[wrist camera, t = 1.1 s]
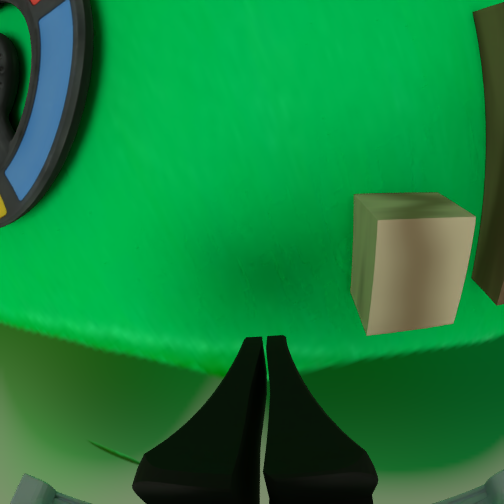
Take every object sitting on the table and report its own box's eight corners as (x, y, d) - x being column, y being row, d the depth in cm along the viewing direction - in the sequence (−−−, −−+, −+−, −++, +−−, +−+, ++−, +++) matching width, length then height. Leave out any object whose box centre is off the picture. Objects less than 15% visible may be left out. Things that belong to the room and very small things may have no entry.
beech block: (436, 191, 19) (476, 216, 14) (425, 283, 22) (453, 323, 17) (353, 193, 19) (377, 220, 15) (350, 290, 22) (366, 335, 18)
